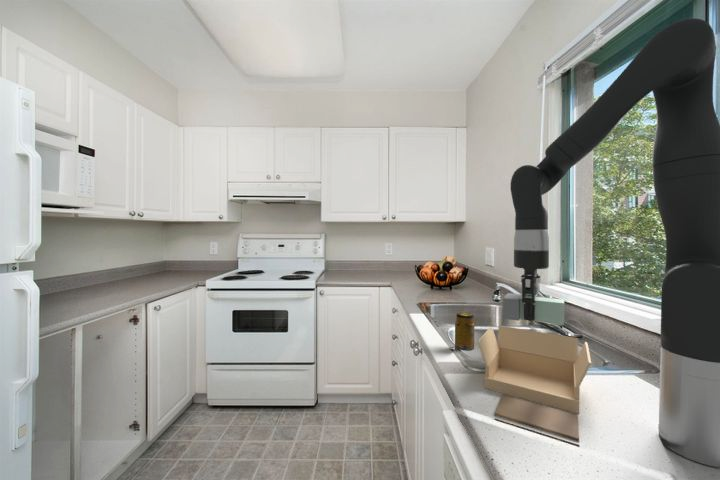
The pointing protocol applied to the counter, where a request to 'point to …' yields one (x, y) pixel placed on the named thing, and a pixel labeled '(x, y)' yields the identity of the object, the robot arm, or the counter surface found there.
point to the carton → (535, 366)
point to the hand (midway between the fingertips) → (530, 317)
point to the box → (544, 309)
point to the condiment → (464, 332)
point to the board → (539, 418)
